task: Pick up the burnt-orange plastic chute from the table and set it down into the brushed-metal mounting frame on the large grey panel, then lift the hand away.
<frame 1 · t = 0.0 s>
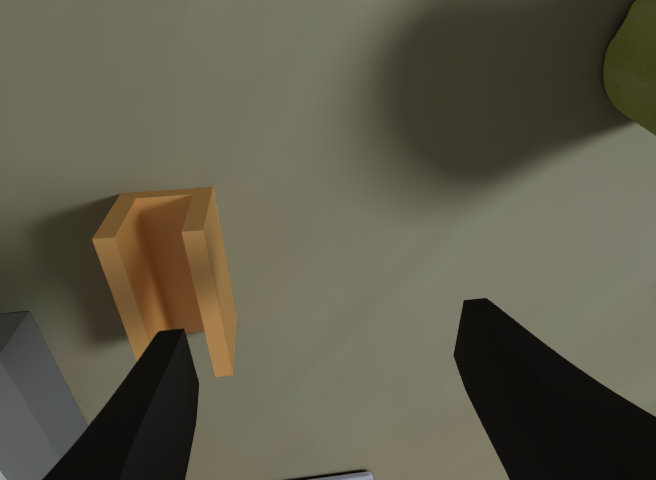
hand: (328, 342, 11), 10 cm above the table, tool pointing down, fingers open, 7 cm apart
chute: (185, 261, 22), on the table
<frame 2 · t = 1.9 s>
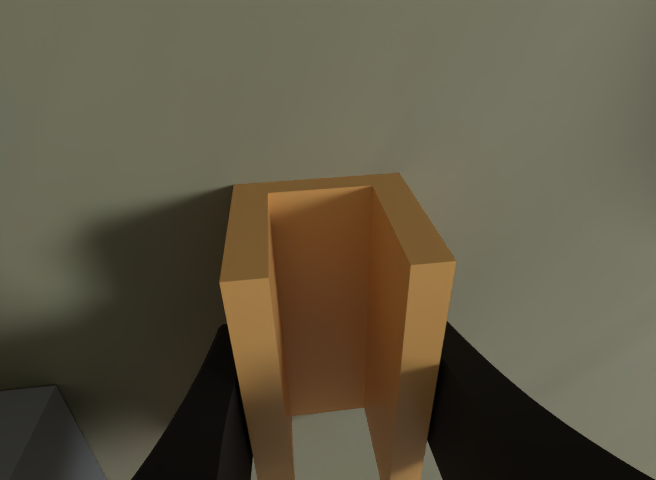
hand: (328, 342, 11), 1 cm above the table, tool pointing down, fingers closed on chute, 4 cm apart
chute: (321, 301, 13), on the table, touching gripper
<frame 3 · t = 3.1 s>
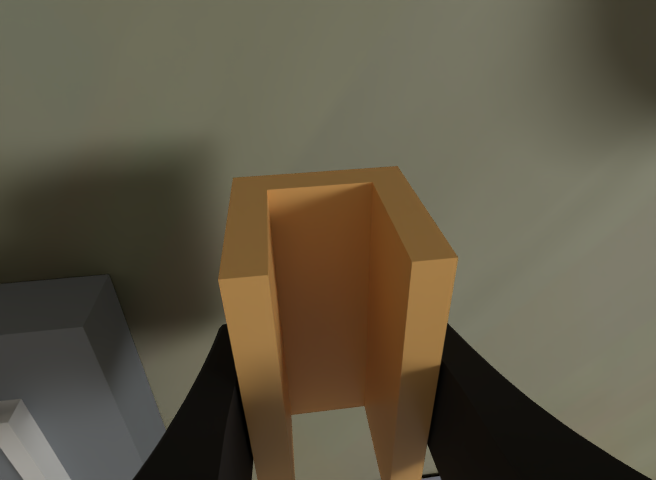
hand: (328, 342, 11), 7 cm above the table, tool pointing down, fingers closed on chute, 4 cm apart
large grey panel: (23, 444, 22), on the table
chute: (321, 299, 13), point 5 cm above the table, touching gripper
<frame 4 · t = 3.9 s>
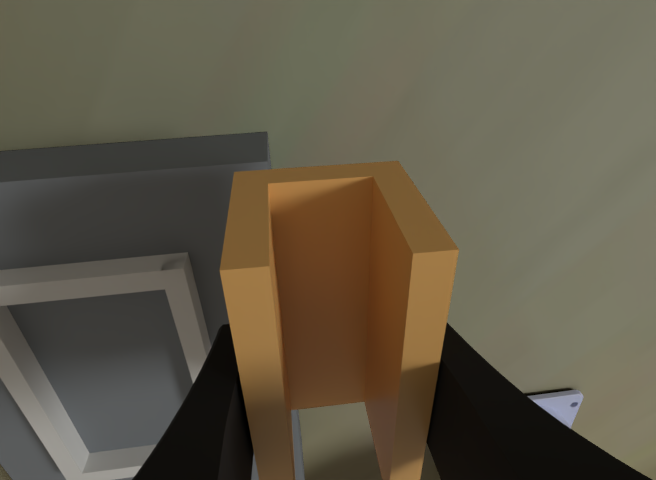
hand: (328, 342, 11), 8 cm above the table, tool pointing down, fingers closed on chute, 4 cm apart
large grey panel: (146, 340, 21), on the table
chute: (322, 294, 13), point 7 cm above the table, touching gripper
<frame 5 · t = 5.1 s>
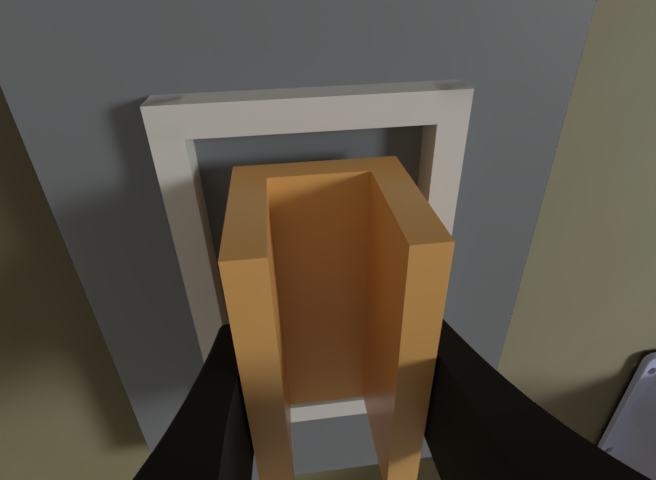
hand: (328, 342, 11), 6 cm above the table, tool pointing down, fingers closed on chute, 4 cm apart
large grey panel: (310, 250, 17), on the table
chute: (320, 289, 13), point 4 cm above the table, touching gripper
when the fingers open (6 cm above the table, at t = 5.8 s): chute drops 1 cm, resting on large grey panel.
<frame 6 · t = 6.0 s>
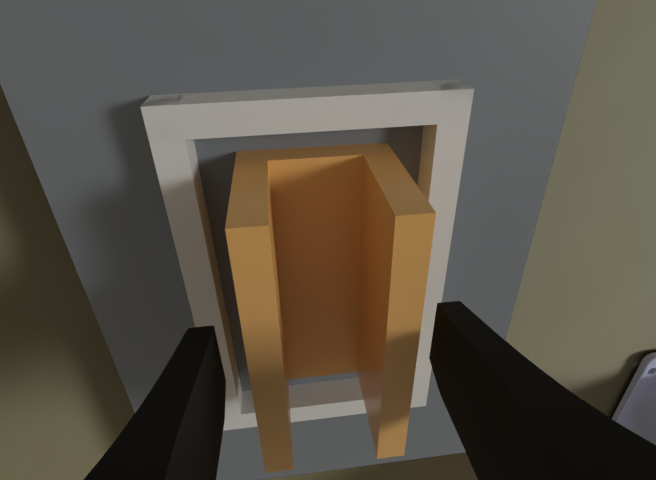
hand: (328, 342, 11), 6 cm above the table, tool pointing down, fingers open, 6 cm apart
large grey panel: (310, 250, 17), on the table
chute: (317, 268, 14), point 3 cm above the table, touching large grey panel
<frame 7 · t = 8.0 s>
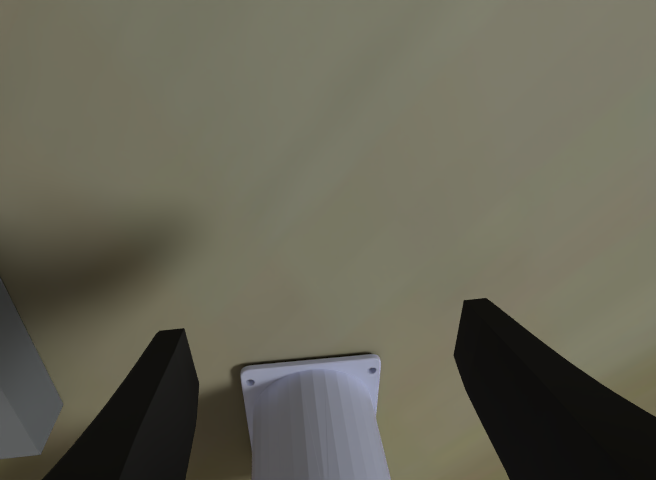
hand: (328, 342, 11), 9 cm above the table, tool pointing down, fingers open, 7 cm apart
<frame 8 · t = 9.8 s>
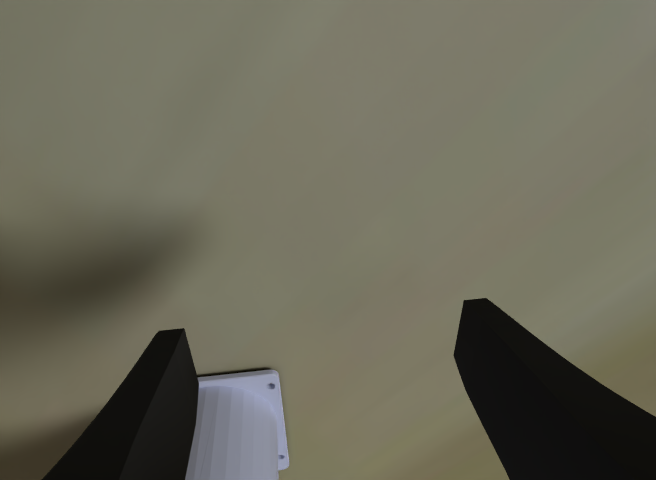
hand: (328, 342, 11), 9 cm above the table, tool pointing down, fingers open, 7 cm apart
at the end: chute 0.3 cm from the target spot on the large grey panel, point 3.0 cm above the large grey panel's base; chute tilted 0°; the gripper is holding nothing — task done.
